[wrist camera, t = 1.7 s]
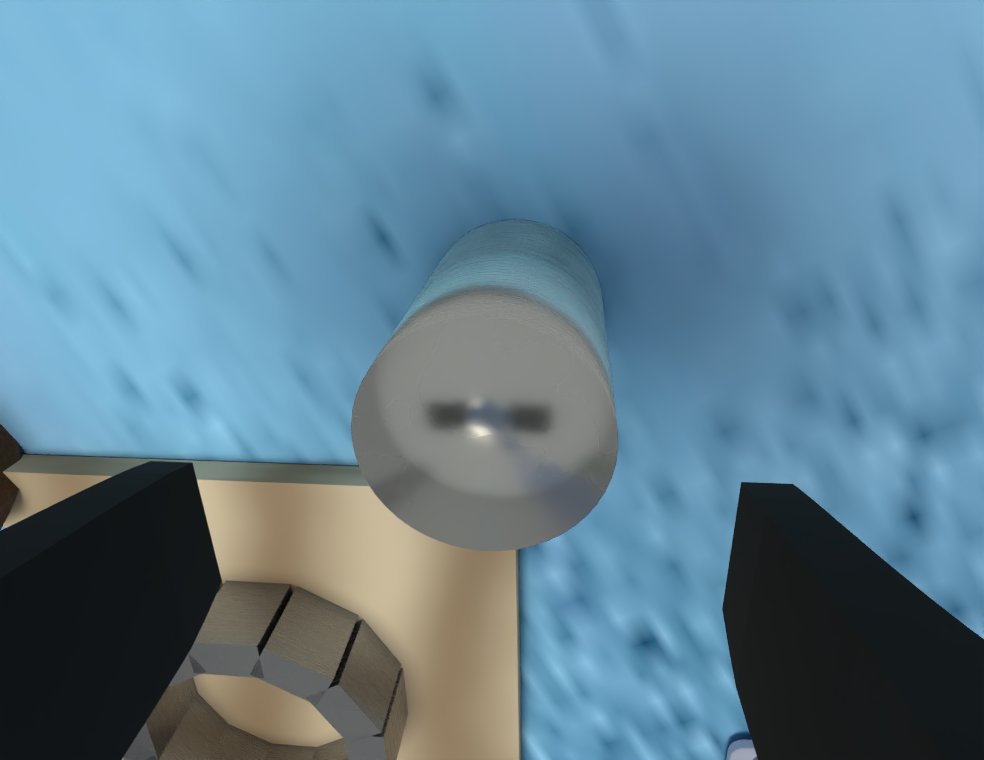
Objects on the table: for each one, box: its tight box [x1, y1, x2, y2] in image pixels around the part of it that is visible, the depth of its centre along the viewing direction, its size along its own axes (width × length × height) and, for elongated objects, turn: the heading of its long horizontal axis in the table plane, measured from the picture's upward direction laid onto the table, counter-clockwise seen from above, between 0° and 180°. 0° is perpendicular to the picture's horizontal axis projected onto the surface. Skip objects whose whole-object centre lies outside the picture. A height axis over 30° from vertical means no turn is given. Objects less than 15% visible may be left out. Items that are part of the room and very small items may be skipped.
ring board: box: [3, 454, 522, 760], centre depth 23 cm, size 16×16×1 cm
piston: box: [351, 219, 618, 551], centre depth 14 cm, size 4×4×7 cm
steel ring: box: [123, 580, 408, 760], centre depth 22 cm, size 9×9×2 cm
